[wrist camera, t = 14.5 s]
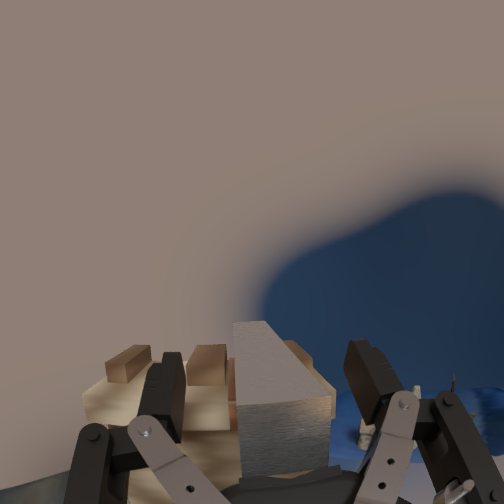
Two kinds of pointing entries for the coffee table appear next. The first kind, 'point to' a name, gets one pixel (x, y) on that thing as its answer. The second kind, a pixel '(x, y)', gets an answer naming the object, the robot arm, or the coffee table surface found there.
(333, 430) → the coffee table surface
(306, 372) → the steel bar
